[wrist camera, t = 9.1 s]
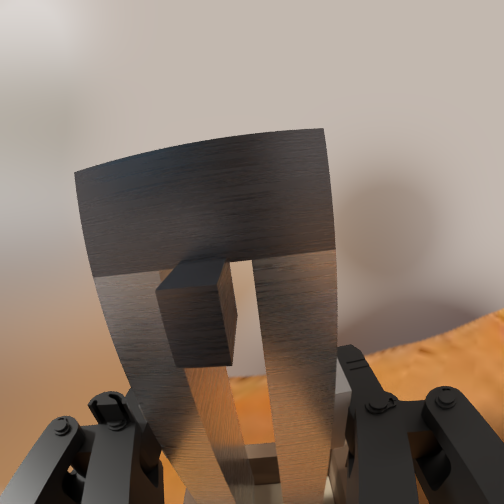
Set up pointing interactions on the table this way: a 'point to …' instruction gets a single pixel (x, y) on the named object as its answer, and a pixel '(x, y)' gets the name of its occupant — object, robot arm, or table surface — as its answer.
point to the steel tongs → (221, 298)
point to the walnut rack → (268, 476)
